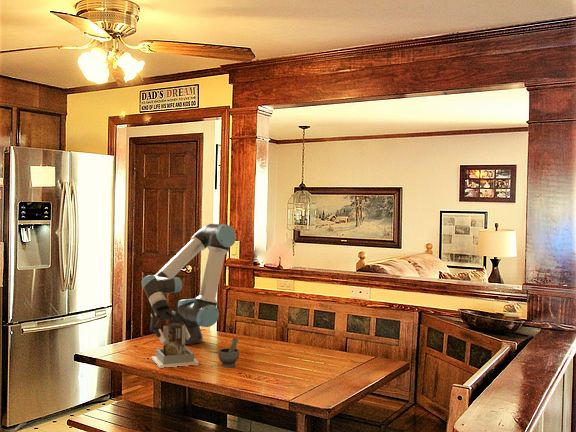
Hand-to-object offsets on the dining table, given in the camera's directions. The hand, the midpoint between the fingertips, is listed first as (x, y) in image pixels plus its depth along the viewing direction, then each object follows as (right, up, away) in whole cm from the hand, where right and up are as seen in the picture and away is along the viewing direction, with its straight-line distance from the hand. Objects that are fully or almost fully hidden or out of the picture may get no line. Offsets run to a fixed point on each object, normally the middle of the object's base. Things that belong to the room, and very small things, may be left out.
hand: (176, 340), depth 281 cm
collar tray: (-1, -10, +1) cm, 10 cm away
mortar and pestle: (+25, -11, -3) cm, 27 cm away
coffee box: (-1, -9, +1) cm, 9 cm away
